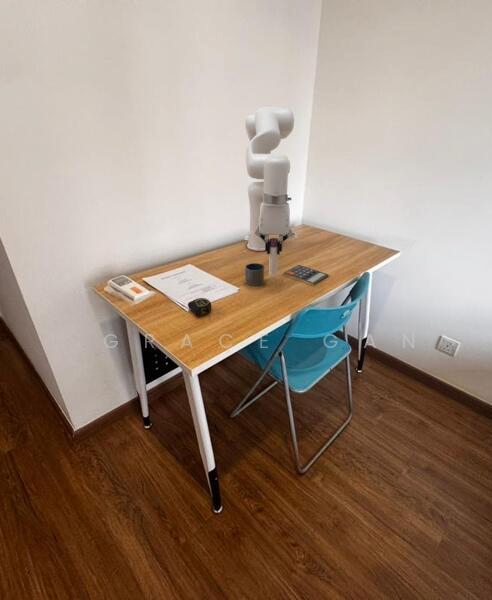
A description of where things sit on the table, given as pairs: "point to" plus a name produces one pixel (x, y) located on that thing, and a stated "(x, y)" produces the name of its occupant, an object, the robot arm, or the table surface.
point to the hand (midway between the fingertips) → (273, 252)
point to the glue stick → (273, 256)
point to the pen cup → (254, 274)
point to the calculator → (306, 274)
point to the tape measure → (200, 306)
